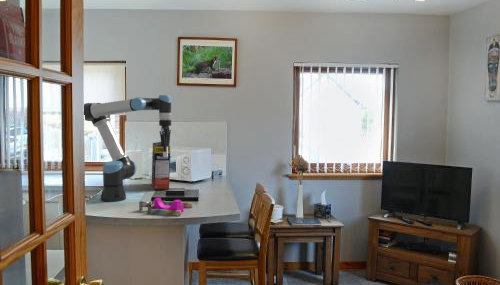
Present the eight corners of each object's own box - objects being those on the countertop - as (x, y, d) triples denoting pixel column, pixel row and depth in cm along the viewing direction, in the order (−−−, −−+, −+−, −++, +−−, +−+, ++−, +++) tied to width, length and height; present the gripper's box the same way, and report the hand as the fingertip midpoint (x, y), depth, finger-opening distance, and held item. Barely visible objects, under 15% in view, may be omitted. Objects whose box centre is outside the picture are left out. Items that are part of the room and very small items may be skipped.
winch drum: (138, 210, 232) (138, 202, 232) (142, 209, 237) (142, 200, 236) (150, 211, 231) (150, 202, 230) (153, 209, 235) (153, 200, 235)
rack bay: (148, 213, 226) (147, 208, 226) (162, 205, 246) (162, 200, 246) (180, 215, 223) (180, 210, 222) (192, 207, 242) (192, 201, 242)
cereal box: (169, 190, 291) (171, 144, 289) (153, 190, 288) (154, 144, 286) (166, 183, 317) (167, 141, 314) (150, 183, 313) (151, 141, 311)
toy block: (183, 212, 230) (183, 199, 230) (177, 215, 225) (177, 201, 224) (160, 209, 236) (160, 196, 235) (154, 212, 230) (153, 199, 230)
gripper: (166, 119, 255) (167, 158, 257) (174, 119, 268) (174, 155, 270) (155, 119, 257) (155, 157, 259) (163, 119, 269) (164, 155, 271)
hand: (165, 156), depth 264 cm, fingers closed
